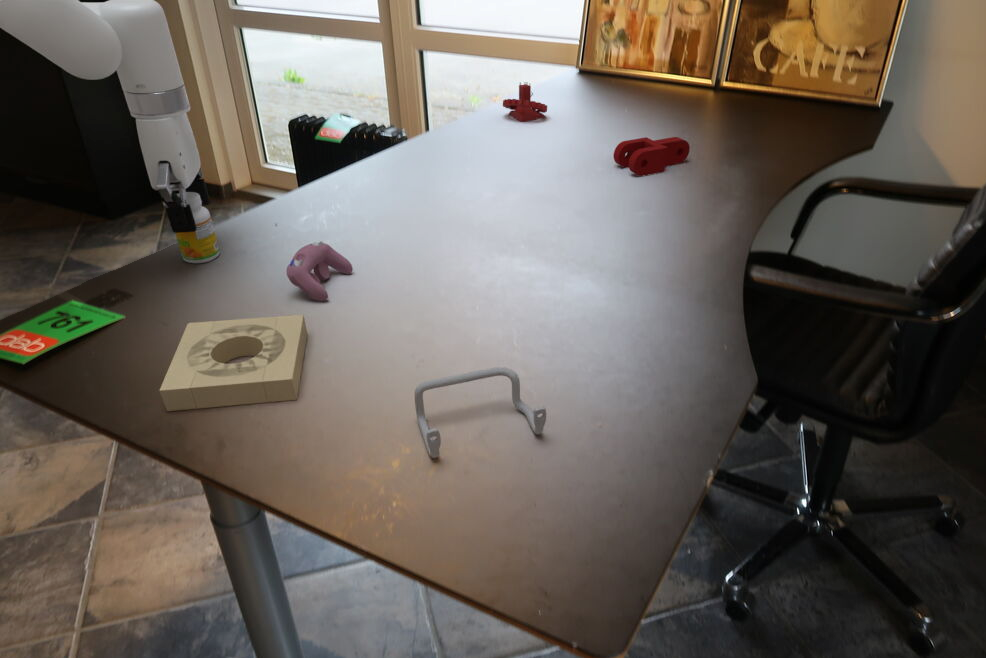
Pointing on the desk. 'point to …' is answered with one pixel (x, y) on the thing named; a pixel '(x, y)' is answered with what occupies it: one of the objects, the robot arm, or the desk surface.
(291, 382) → the socket pad
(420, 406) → the bracket
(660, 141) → the mechanical linkage
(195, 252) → the supplement bottle
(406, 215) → the desk surface
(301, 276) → the video game controller
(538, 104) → the red cross-shaped piece
